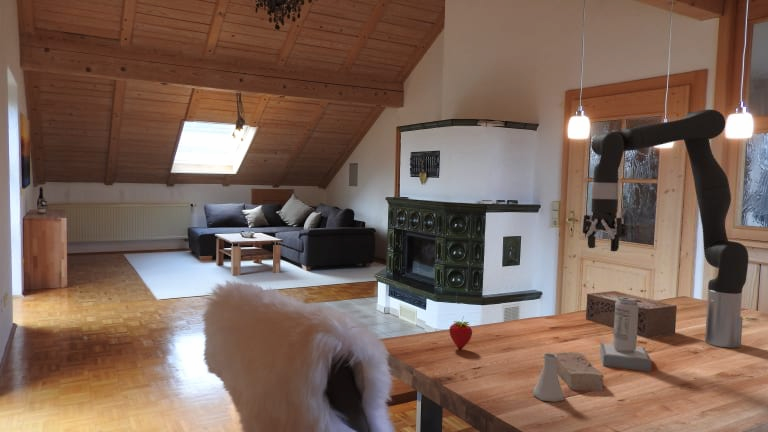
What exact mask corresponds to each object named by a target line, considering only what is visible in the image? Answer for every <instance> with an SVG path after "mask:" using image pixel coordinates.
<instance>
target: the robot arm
mask: <svg viewBox="0 0 768 432" xmlns="http://www.w3.org/2000/svg"><path fill="white" fill-rule="evenodd" d="M725 128H726V119H725V117H724V115H723V113H721V112H720V111H719V110H717V109H710V108H709V109H703V110H702V109H701V110H697V111H692V112H689V113H687V114H686V115H684V117H683V118H682V119H677V120H672V121H671V120H670V121H665V122H658V123H648V124H644V125H638V126H634V127H631V128H626V129H623V130H618V131H609V132H603V133H599V134H598V135H596V136H594V138H593V139H592V141H591V143H590V144H591V150H592V152H594V154H596V155H597V156H600V158H599V163H598V164H596V165H595V166H594V169H593V185H592V190H591V191H592V192H591V207H590V208H591V212H592V214H584V215H583V221H582V222H583V223H582V234H585V235H586V236H587V246H588V248H589V249H595V248H596V234H598V232H599V231H606V233H607V234H609V236H610V237H611V239H610V252H618V250H619V247H620V239H623V238H625V237H626V217H617V213H618V210H619V207H618V205H619V169H620V166H621V162H622V160H623V155H624V152H626V151H627V152H628V151H638V150H643V149H648V148H652V147H656V146H661V145H664V144H670V143H673V142H678V141H683V142H684V145H685V148H686V151H687V155H688V157H689V161H690V162H689V163H690V168H691V173H692V177H693V182H694V183H693V184H694V189H695V195H696V201H697V204H698V210H699V215H700V222H701V227H702V241H703V254H704V257H705V261H706V262H707V263H708V264H709V265H710V266H712V267H713V268H716V269H718V271H717V276H716V277H715V278H713V279H710V280H709V281H708V284H707V300H706V301H707V302H706V315H705V316H706V318H705V332H704V337H705V338H704V342H705V343H706V344H708V345H712V346H716V347H721V348H729V349H730V348H731V349H732V348H742V337H743V333H742V332H743V317H742V316H741V314H742V302H743V301H742V300H743V299H742V298H743V288H744V286H745V284H746V282H747V275H748V270H749V269H748V266H749V252H748V249H747V247H746V246H745V245H744V244H743V243H740V242H738V241H731V240H729V239H728V236H727V229H726V218H727V215H728V212H729V209H730V206H731V202H732V193H731V188H730V183H729V178H728V176H727V174H726V172H725V171H724V170H723V168H722V167H721V165H720V164H719V162H718V161H717V159H716V158H715V156H714V155H713V152H712V149H711V143H710V140H712V139H716V138H717V137H719V135H721V134H722V133H723V132H724V130H725Z"/></svg>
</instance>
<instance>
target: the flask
mask: <svg viewBox="0 0 768 432" xmlns="http://www.w3.org/2000/svg"><path fill="white" fill-rule="evenodd" d="M542 355H543V358H544V361H543V362H544V363H543V366H542V370H541V372H540V375H539V377H538V379H537V382H536V384H535V386H534V388H533V396H534V397H536V398H537V399H539V400H541V401H545V402H555V403H556V402H561V401H565V396H564V392H563V390H562V386H561V383H560V379H559V375H558V374H557V371H556V359H557V355H555V354H553V353H550V352H549V353H548V352H546V353H543V354H542Z"/></svg>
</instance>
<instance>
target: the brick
mask: <svg viewBox="0 0 768 432" xmlns="http://www.w3.org/2000/svg"><path fill="white" fill-rule="evenodd" d="M552 354H555V355H557V359H556V371H557V375H558V378H560V379H561V380H562V381H563V382H564V383H565V384H566V385H567V387H568V388H570V389H571V390H572V391H589V392H591V391H593V392H602V391H603V389H604V387H603V386H604V374H603V373H602V372H601V371H600V370H599V369H598V368H597V367H595V366H593V365H592V364H591V362H590V361H589V360H588V359H587V357H586V356H585V355H584V354H583V353H580V352H574V351H573V352H572V351H571V352H553V353H552Z"/></svg>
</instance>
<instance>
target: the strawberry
mask: <svg viewBox="0 0 768 432" xmlns="http://www.w3.org/2000/svg"><path fill="white" fill-rule="evenodd" d="M464 317H465V316H464V315H463V317H462V320H461V321H458V320H457V321H455V320H454V321H453V322H454V323H452V324H451V325H450V326H449V331H448V332H449V335H450V338H451V340H452V342H453V343H454V345H455V346H456V348H457V349H458V350H463V348H464V347H465V346H466V345H467V344H469V342H470V340H471V339H472V336H473V330H472V328H471V326H470V324H469V323H470V322H469V321H463V320H464Z"/></svg>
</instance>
